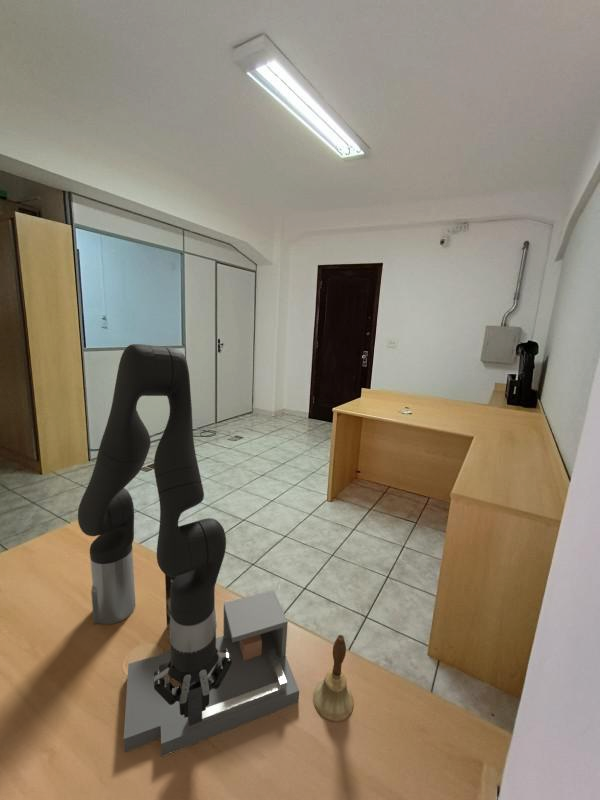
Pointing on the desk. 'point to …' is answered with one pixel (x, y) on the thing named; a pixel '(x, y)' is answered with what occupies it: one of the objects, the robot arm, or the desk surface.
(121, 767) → the desk surface
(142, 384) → the robot arm
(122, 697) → the desk surface
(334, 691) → the hand bell
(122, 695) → the desk surface
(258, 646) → the block
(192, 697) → the grey bar handle
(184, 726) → the cubby
